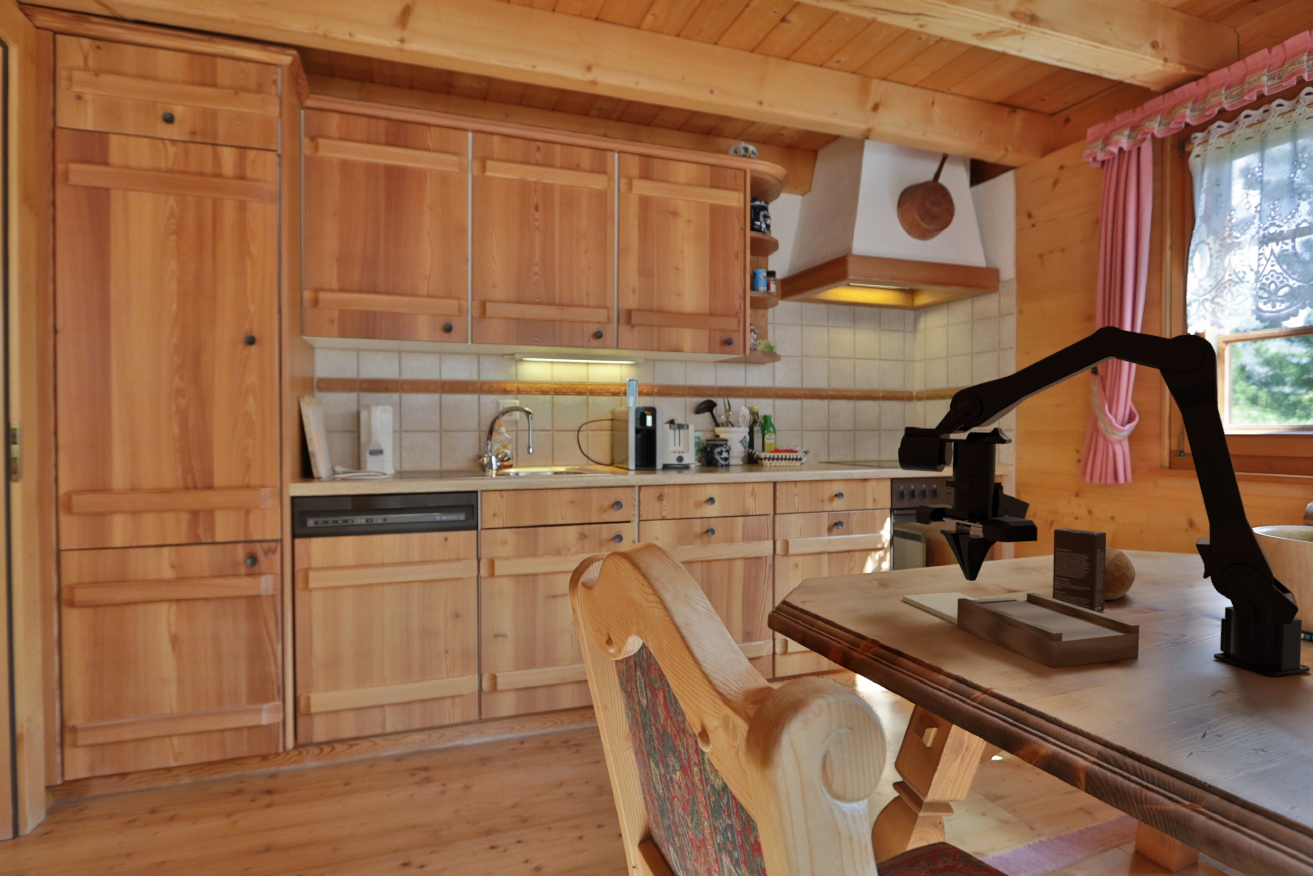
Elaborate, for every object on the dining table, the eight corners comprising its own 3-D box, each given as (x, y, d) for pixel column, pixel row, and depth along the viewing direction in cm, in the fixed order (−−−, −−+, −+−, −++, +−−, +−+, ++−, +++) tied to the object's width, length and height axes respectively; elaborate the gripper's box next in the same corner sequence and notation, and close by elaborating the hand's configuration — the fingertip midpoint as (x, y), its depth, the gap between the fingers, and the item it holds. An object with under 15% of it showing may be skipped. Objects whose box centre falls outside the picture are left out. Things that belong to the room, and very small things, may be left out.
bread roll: (1068, 600, 113) (1070, 550, 113) (1063, 581, 126) (1064, 536, 126) (1141, 608, 108) (1142, 556, 108) (1128, 587, 122) (1129, 541, 121)
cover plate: (1022, 625, 101) (1022, 599, 101) (961, 629, 98) (962, 603, 98) (956, 599, 114) (957, 577, 114) (902, 603, 112) (902, 579, 112)
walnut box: (1138, 657, 86) (1139, 624, 86) (1053, 667, 82) (1054, 633, 82) (1032, 620, 101) (1033, 592, 101) (957, 627, 97) (957, 598, 97)
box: (1105, 611, 106) (1107, 531, 106) (1094, 616, 103) (1096, 534, 103) (1062, 602, 111) (1064, 526, 111) (1050, 607, 108) (1052, 529, 108)
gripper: (1071, 479, 97) (1067, 592, 97) (973, 468, 114) (970, 564, 115) (1004, 480, 93) (1001, 597, 94) (914, 469, 111) (912, 568, 112)
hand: (970, 580), depth 104 cm, fingers closed
